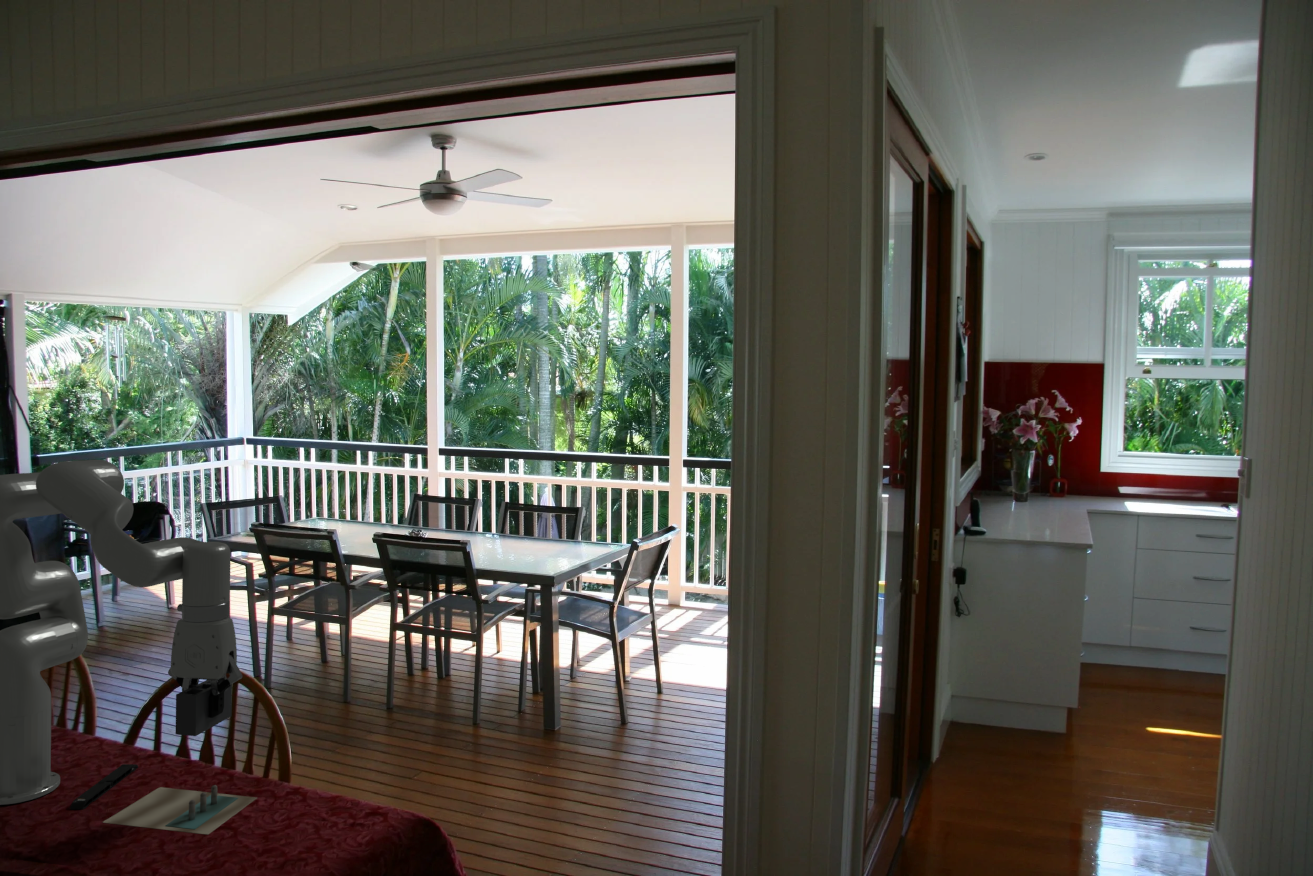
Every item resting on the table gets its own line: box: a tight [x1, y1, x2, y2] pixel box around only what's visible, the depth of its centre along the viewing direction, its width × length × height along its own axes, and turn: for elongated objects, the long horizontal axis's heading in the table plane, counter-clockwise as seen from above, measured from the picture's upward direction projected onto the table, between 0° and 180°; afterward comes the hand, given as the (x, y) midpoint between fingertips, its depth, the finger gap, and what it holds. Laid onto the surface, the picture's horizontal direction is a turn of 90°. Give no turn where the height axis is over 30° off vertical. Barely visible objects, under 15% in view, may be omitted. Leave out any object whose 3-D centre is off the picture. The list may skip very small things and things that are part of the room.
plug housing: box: [175, 680, 233, 737], centre depth 152 cm, size 10×4×7 cm, turn 172°
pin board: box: [102, 784, 258, 835], centre depth 153 cm, size 20×14×5 cm
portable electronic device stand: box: [70, 763, 139, 811], centre depth 161 cm, size 18×3×3 cm, turn 3°
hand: (204, 713), depth 152 cm, fingers closed on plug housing, 3 cm apart
